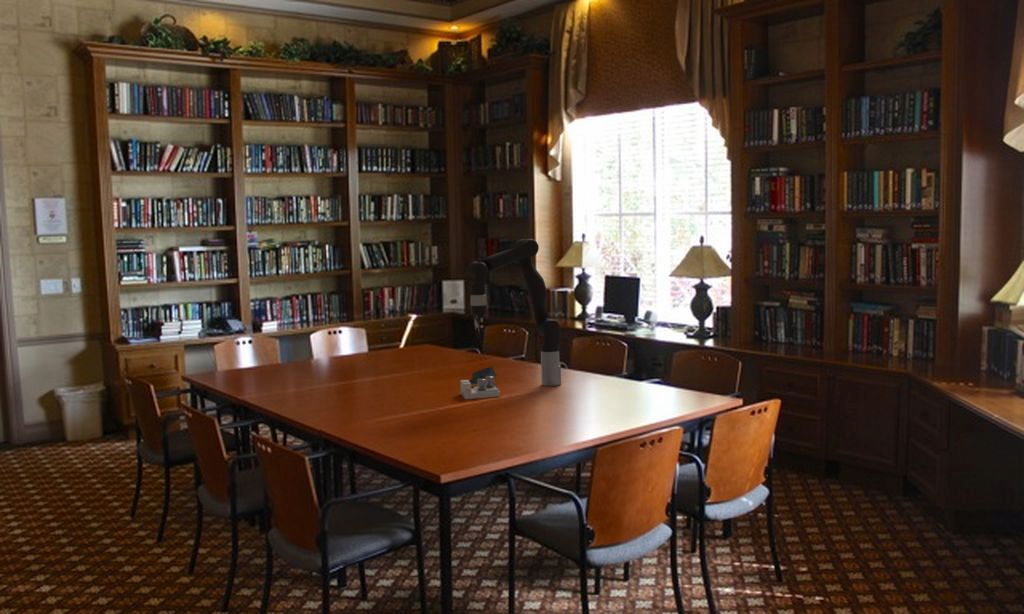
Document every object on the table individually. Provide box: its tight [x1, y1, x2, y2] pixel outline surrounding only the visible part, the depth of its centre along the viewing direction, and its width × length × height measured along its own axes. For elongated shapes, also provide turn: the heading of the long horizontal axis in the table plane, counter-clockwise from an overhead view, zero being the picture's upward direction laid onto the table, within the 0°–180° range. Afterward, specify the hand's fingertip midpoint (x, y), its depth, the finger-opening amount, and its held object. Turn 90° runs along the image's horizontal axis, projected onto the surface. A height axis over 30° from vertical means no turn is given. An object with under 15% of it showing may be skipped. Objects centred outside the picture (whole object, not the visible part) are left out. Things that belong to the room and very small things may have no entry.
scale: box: [460, 379, 501, 400], centre depth 434 cm, size 17×13×7 cm
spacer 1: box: [476, 379, 487, 391], centre depth 431 cm, size 4×4×5 cm
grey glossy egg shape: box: [485, 376, 496, 388], centre depth 438 cm, size 4×4×5 cm
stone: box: [468, 365, 498, 385], centre depth 458 cm, size 14×6×10 cm, turn 117°
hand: (480, 338), depth 429 cm, fingers open, 8 cm apart
